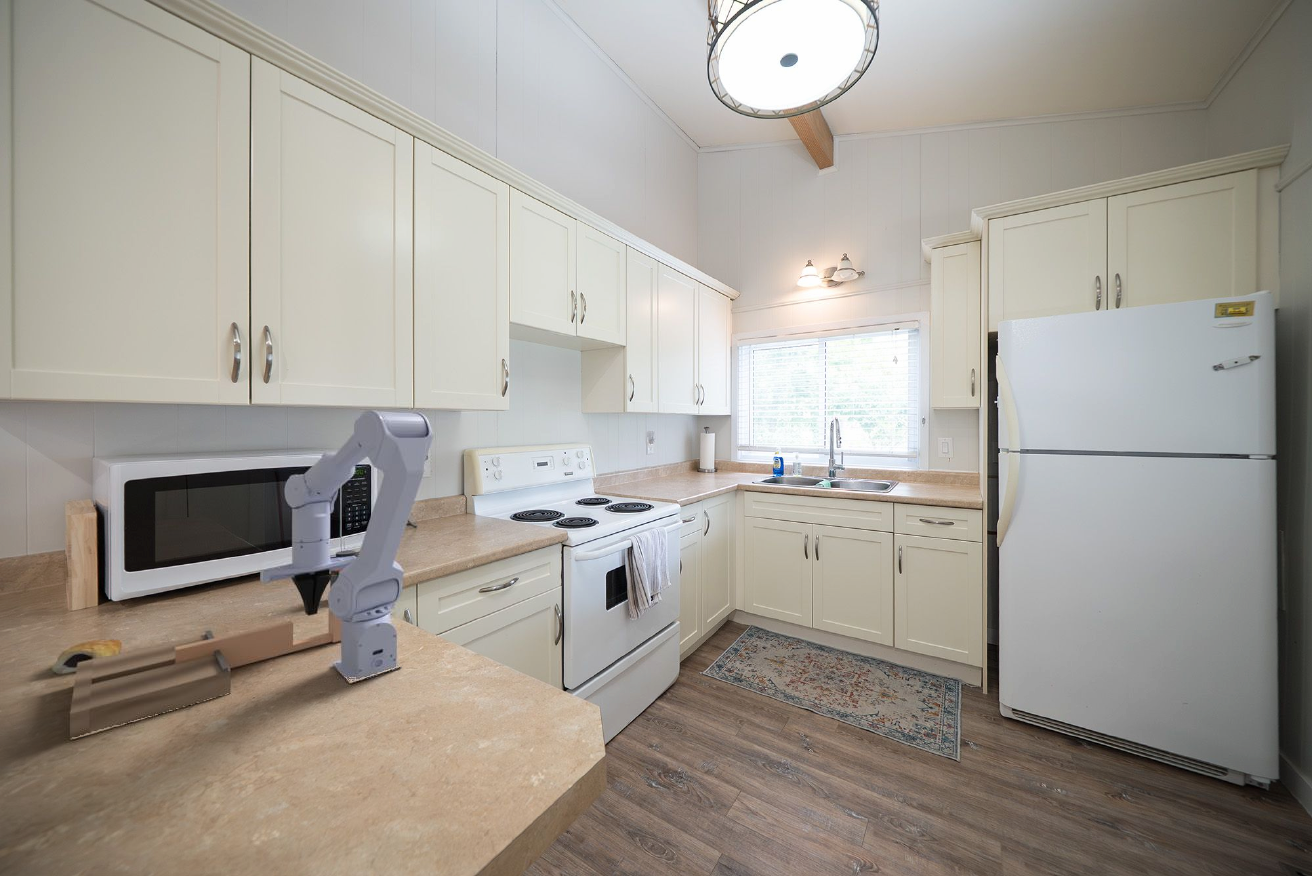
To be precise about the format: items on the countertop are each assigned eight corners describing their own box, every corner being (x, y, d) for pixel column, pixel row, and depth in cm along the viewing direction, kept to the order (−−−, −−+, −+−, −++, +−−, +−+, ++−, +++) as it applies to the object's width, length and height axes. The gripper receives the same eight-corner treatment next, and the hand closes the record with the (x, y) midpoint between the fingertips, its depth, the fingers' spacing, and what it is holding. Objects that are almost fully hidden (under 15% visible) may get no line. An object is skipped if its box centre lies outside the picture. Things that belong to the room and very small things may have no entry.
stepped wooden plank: (345, 639, 93) (345, 609, 93) (176, 684, 76) (176, 648, 76) (340, 634, 95) (340, 605, 95) (174, 677, 78) (174, 642, 78)
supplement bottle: (349, 603, 113) (349, 555, 113) (323, 603, 113) (324, 554, 113) (365, 595, 119) (365, 549, 119) (341, 594, 119) (341, 548, 119)
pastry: (82, 654, 87) (82, 632, 87) (134, 647, 90) (134, 626, 90) (47, 677, 79) (48, 654, 79) (106, 669, 82) (107, 646, 82)
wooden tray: (230, 693, 74) (230, 666, 74) (69, 740, 62) (69, 709, 62) (212, 652, 88) (212, 629, 88) (77, 684, 76) (77, 658, 76)
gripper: (349, 531, 98) (349, 598, 98) (256, 542, 87) (256, 618, 87) (361, 536, 93) (360, 607, 93) (265, 549, 83) (265, 629, 83)
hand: (311, 613), depth 90 cm, fingers closed
